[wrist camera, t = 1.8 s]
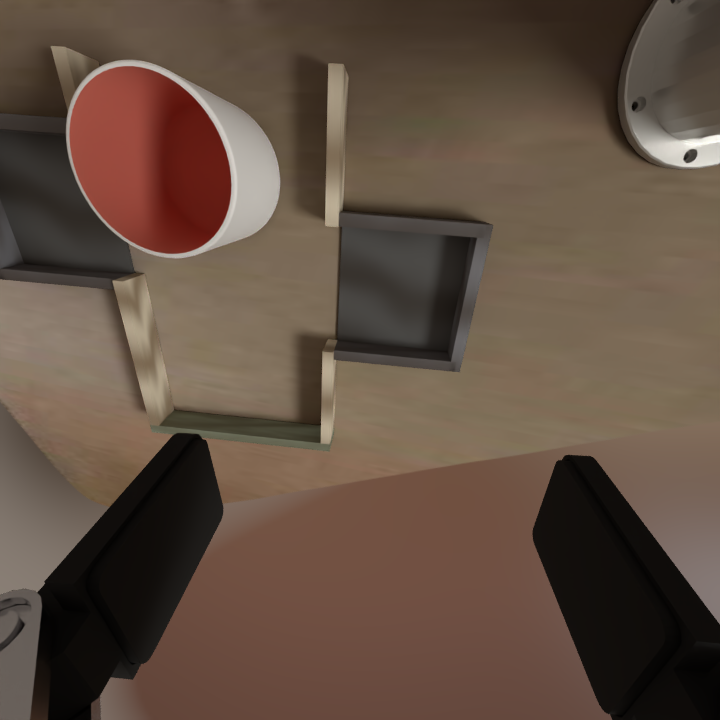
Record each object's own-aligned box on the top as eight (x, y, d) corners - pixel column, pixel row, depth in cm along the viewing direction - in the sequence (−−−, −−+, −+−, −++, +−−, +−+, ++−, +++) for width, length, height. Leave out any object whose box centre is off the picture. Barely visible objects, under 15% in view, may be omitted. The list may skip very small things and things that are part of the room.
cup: (148, 112, 27) (29, 75, 18) (269, 92, 26) (205, 42, 17) (190, 243, 31) (110, 266, 23) (295, 231, 30) (255, 250, 21)
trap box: (-65, 51, 26) (-116, 35, 24) (514, 87, 25) (529, 75, 22) (71, 405, 41) (49, 420, 39) (436, 444, 40) (439, 463, 37)
